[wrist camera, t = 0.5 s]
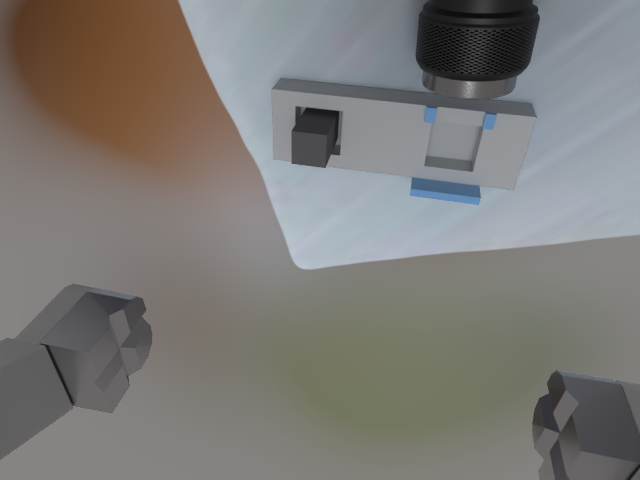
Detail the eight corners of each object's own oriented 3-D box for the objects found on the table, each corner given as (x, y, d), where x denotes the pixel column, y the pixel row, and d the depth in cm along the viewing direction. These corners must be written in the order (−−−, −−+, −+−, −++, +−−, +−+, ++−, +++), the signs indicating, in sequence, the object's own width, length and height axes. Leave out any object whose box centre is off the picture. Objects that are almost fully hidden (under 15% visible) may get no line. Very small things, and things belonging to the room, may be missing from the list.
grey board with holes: (280, 78, 52) (264, 97, 47) (531, 104, 48) (541, 127, 43) (282, 152, 57) (267, 176, 52) (508, 180, 53) (514, 209, 48)
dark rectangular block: (307, 105, 52) (291, 131, 46) (339, 108, 51) (326, 135, 46) (307, 135, 54) (291, 163, 48) (337, 138, 53) (325, 167, 48)
